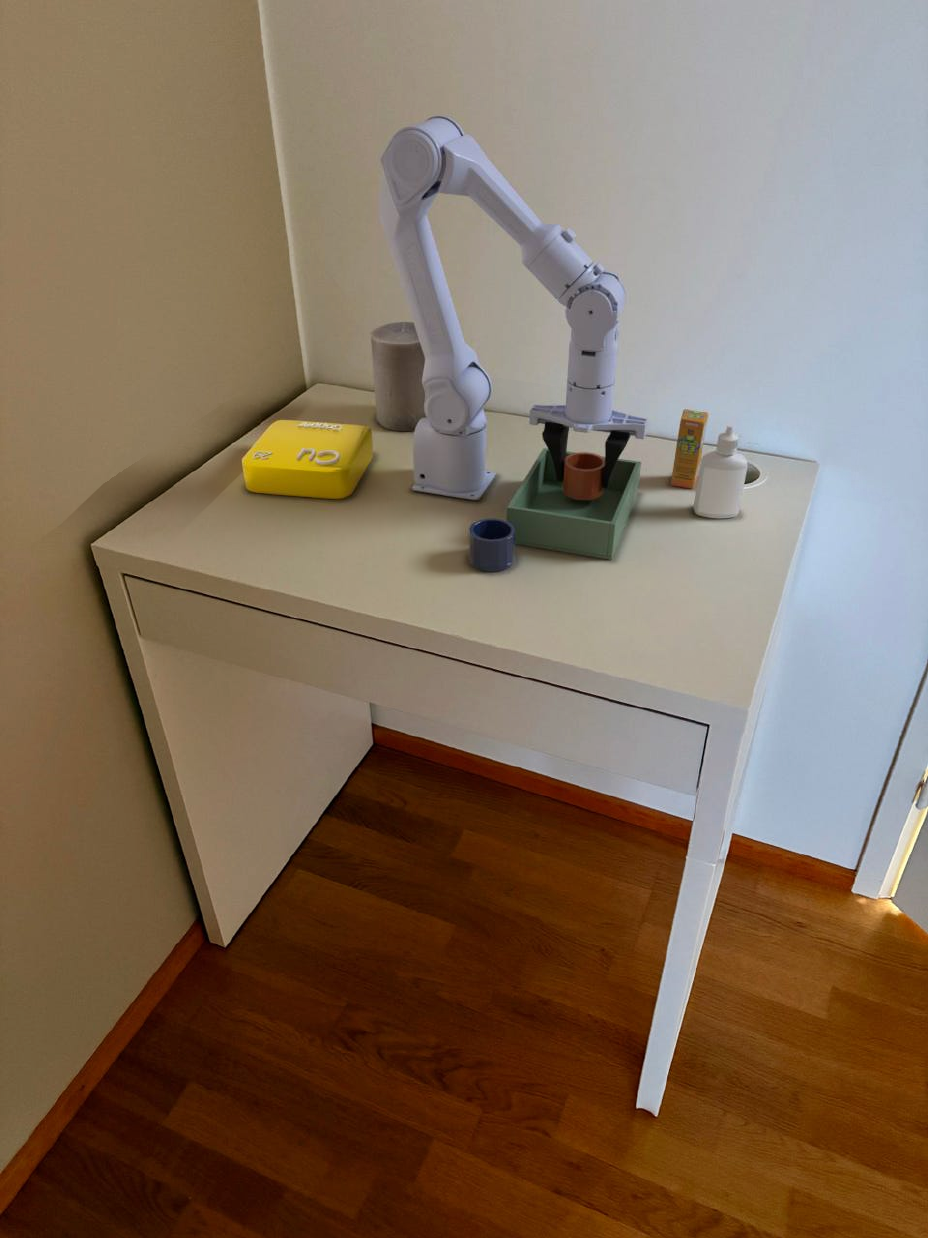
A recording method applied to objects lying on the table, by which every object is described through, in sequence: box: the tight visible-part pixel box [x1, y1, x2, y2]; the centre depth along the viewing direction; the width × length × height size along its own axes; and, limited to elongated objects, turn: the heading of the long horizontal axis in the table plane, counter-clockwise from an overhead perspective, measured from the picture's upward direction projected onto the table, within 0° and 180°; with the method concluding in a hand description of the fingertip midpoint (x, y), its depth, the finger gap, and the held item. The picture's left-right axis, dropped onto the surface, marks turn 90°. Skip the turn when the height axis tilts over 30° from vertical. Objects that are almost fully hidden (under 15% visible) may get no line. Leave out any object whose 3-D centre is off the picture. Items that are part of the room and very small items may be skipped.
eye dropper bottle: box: [693, 424, 748, 519], centre depth 115 cm, size 4×6×12 cm
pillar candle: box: [369, 321, 427, 432], centre depth 139 cm, size 10×10×15 cm
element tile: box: [241, 419, 374, 500], centre depth 127 cm, size 15×15×5 cm
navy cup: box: [468, 517, 516, 573], centre depth 108 cm, size 5×5×4 cm
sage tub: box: [505, 447, 642, 561], centre depth 116 cm, size 13×17×5 cm
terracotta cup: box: [562, 451, 605, 500], centre depth 118 cm, size 5×5×4 cm
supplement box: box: [670, 408, 709, 489], centre depth 122 cm, size 3×3×10 cm
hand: (583, 481), depth 119 cm, fingers closed on terracotta cup, 5 cm apart
